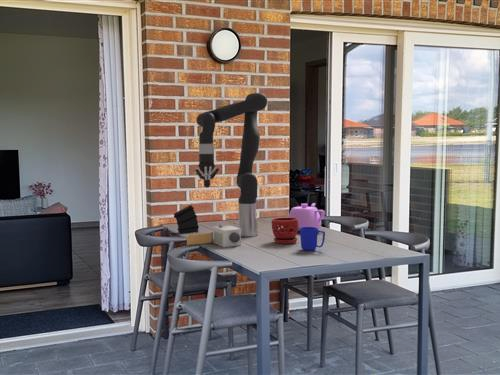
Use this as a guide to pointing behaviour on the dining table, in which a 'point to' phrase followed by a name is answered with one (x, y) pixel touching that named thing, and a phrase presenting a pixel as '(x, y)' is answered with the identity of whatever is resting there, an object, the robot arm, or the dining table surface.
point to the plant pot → (285, 230)
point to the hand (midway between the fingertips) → (206, 187)
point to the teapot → (307, 216)
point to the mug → (310, 238)
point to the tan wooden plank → (200, 238)
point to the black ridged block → (186, 220)
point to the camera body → (227, 235)
